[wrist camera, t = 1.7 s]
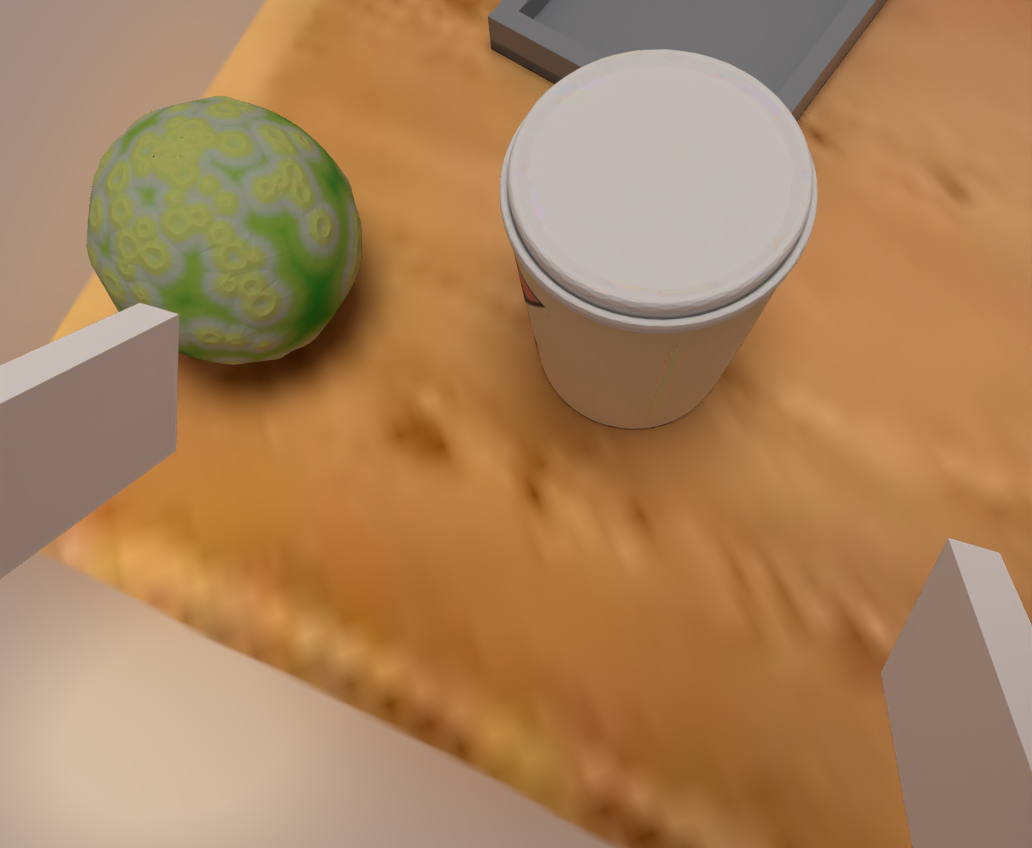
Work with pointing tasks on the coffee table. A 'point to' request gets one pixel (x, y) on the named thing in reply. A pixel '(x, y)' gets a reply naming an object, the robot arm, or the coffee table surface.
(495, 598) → the coffee table surface
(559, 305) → the coffee cup
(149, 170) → the decorative ball
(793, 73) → the tray
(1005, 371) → the coffee table surface
